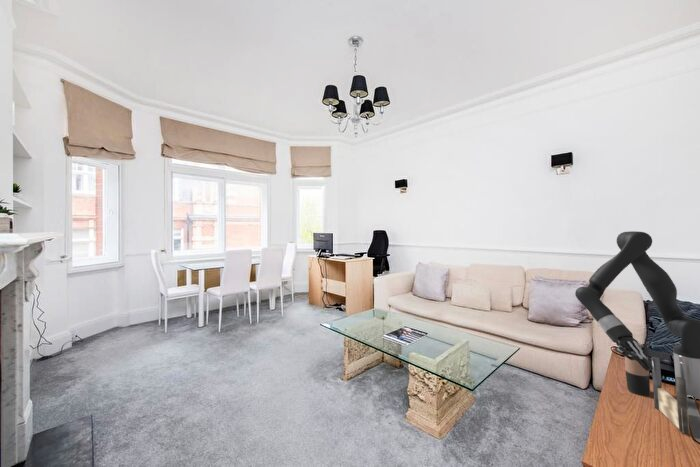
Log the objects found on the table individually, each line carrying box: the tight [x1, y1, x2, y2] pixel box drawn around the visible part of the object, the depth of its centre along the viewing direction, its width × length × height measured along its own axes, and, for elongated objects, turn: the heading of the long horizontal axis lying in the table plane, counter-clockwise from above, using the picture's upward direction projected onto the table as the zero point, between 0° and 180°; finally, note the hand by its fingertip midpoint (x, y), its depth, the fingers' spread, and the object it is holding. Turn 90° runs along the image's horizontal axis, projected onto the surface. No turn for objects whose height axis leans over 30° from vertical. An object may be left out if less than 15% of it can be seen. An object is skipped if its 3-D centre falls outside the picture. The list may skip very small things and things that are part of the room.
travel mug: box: [624, 356, 651, 397], centre depth 130 cm, size 8×8×20 cm
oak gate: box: [658, 376, 691, 435], centre depth 109 cm, size 15×2×18 cm, turn 156°
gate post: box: [650, 356, 663, 411], centre depth 118 cm, size 2×2×20 cm
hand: (650, 369), depth 111 cm, fingers closed
